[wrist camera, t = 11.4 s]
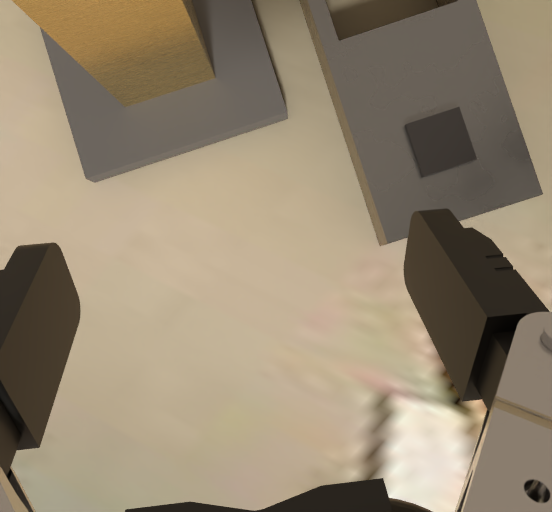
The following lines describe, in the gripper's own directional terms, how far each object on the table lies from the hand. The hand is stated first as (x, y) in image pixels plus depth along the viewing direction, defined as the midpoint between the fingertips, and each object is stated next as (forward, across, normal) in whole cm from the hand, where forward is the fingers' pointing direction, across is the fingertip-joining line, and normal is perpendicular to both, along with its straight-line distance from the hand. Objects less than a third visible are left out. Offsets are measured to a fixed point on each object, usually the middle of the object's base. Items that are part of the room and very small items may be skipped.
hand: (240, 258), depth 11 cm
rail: (+17, -7, -3) cm, 19 cm away
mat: (+17, +3, -1) cm, 17 cm away
